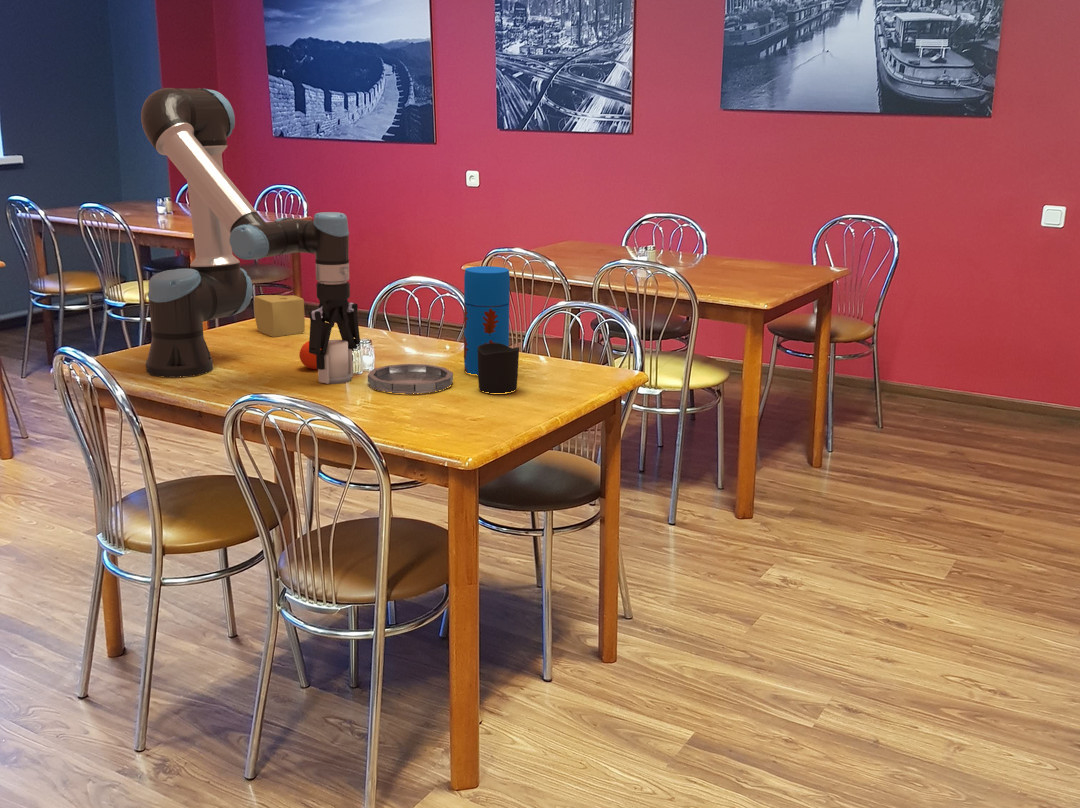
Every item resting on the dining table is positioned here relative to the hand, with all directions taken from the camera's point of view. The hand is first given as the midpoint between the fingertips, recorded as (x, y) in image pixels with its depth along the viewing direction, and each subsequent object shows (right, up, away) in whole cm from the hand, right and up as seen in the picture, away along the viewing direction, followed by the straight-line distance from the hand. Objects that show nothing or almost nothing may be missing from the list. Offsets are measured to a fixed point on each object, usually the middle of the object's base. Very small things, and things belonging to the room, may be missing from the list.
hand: (336, 378), depth 257 cm
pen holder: (+38, -3, -5) cm, 38 cm away
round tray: (+18, -1, -2) cm, 18 cm away
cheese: (-24, +14, +49) cm, 56 cm away
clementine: (-7, +2, +10) cm, 12 cm away
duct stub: (0, 0, 0) cm, 0 cm away
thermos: (+34, +2, +11) cm, 36 cm away
